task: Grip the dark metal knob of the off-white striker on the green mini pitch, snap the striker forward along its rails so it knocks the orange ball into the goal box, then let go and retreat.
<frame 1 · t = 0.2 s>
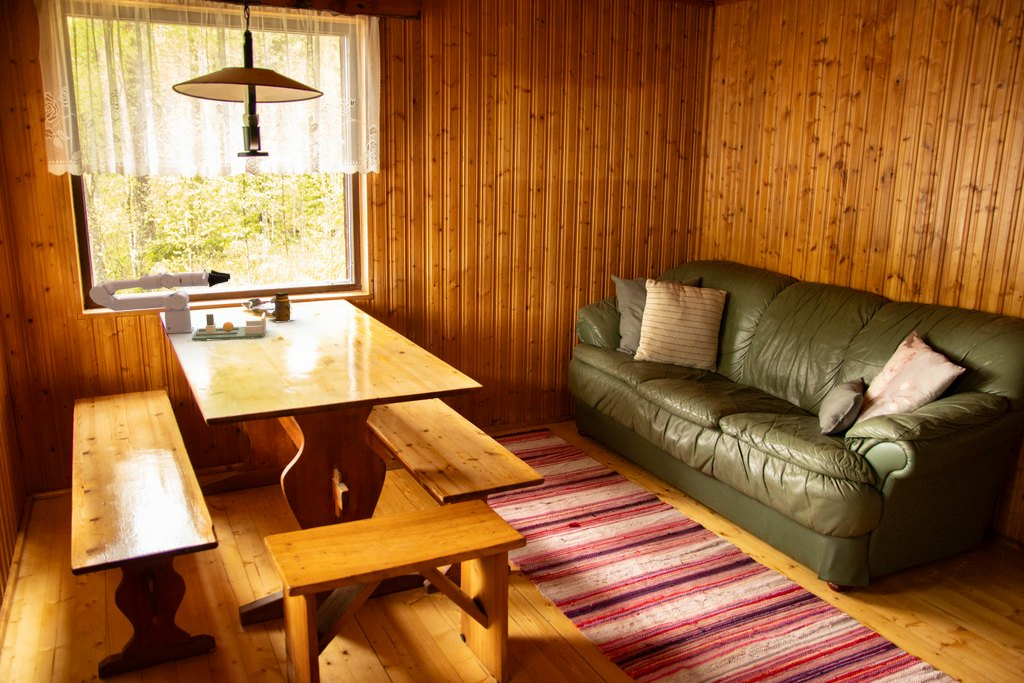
hand: (229, 277, 326), 21 cm above the table, tool horizontal, fingers open, 7 cm apart
pitch: (230, 334, 322), on the table
condiment: (281, 320, 349), on the table
striker: (210, 323, 319), point 5 cm above the table, slide at 0.0 cm
ball: (228, 326, 321), point 3 cm above the table, touching pitch
goal: (255, 333, 324), resting on pitch
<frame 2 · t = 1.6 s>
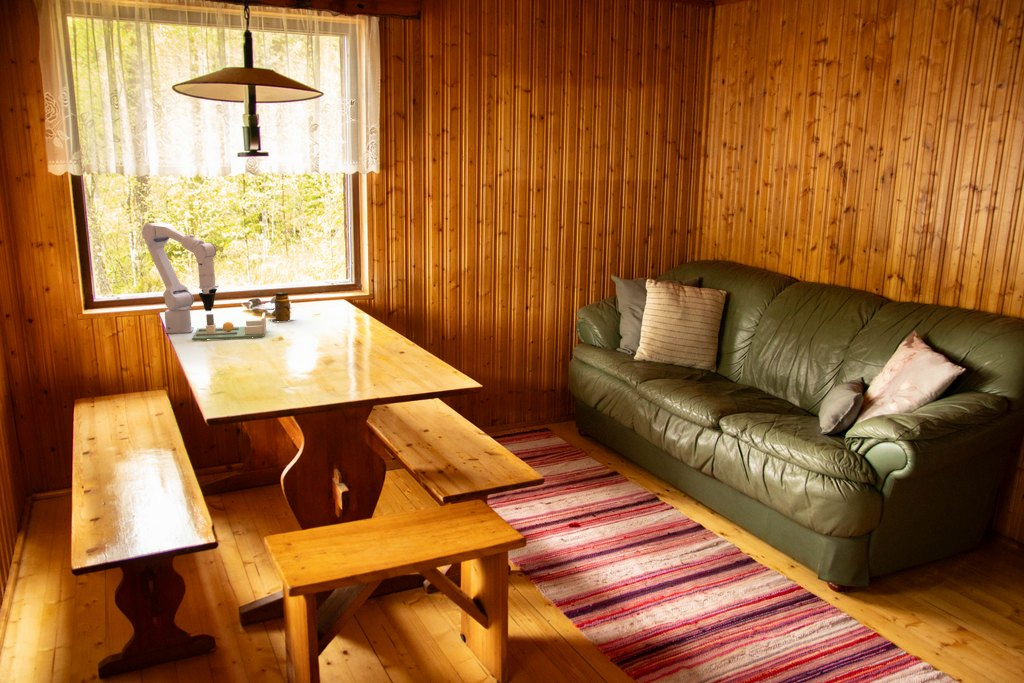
hand: (209, 309, 318), 10 cm above the table, tool pointing down, fingers open, 7 cm apart
nothing on the table moved.
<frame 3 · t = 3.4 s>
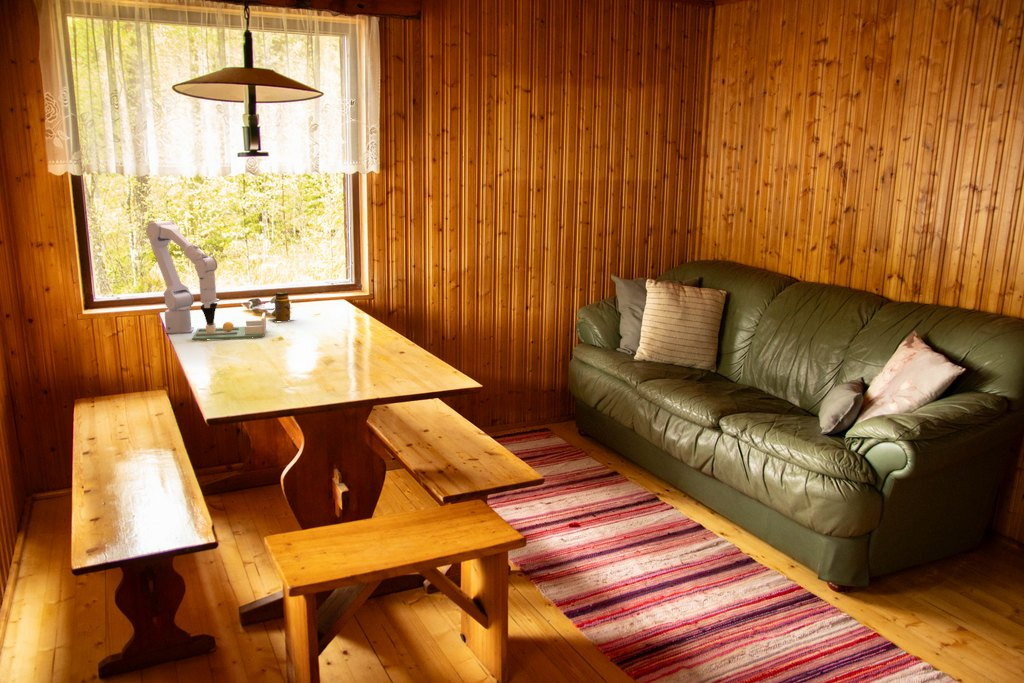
hand: (210, 322, 319), 5 cm above the table, tool pointing down, fingers closed on striker, 3 cm apart
striker: (210, 323, 319), point 5 cm above the table, slide at 0.0 cm, touching gripper
everything else where it was.
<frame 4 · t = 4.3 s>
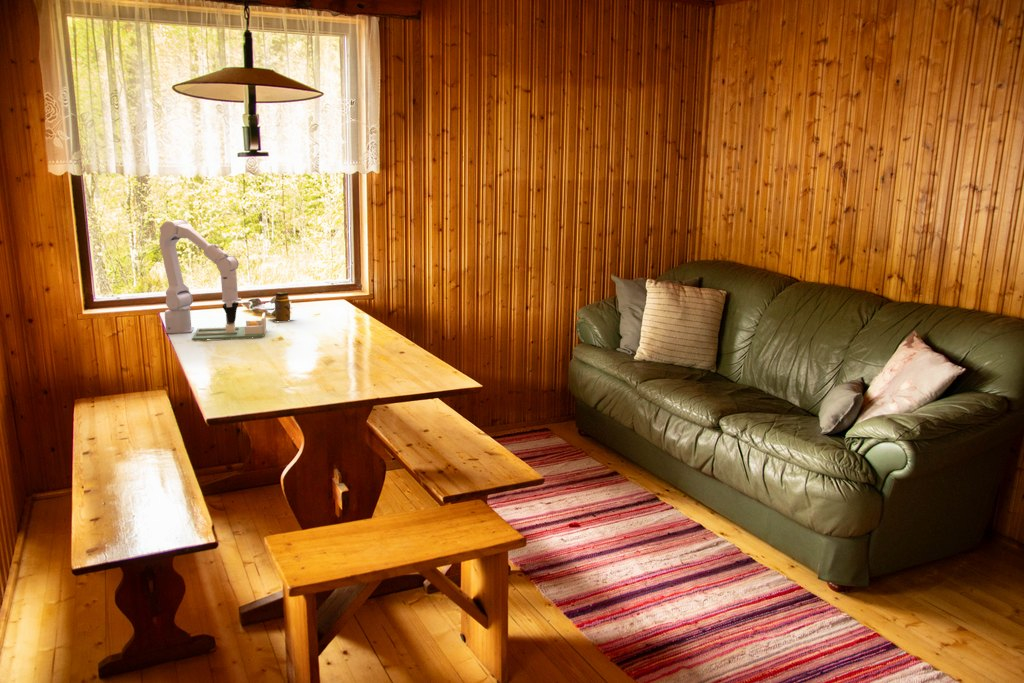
hand: (231, 321, 321), 5 cm above the table, tool pointing down, fingers closed on striker, 3 cm apart
striker: (230, 322, 321), point 5 cm above the table, slide at 7.3 cm, touching gripper
ball: (253, 325, 323), point 3 cm above the table, tilted 98°, touching pitch
everything else where it was.
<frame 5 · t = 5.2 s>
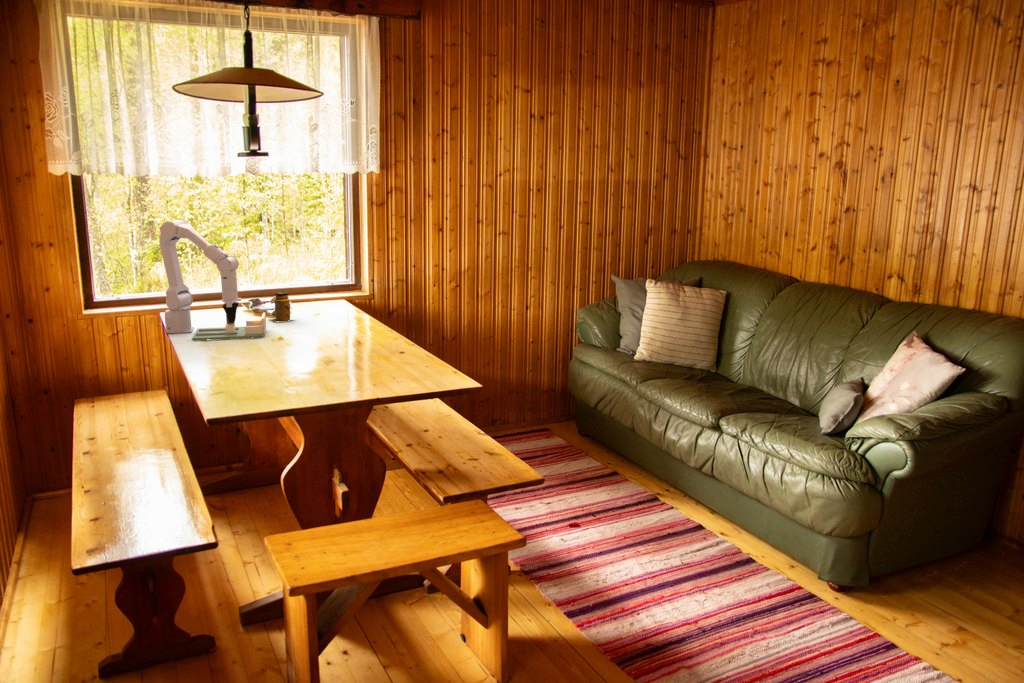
hand: (231, 321, 321), 5 cm above the table, tool pointing down, fingers closed on striker, 2 cm apart
striker: (230, 322, 321), point 5 cm above the table, slide at 7.3 cm, touching gripper
ball: (256, 325, 323), point 3 cm above the table, tilted 62°, touching pitch
everything else where it was.
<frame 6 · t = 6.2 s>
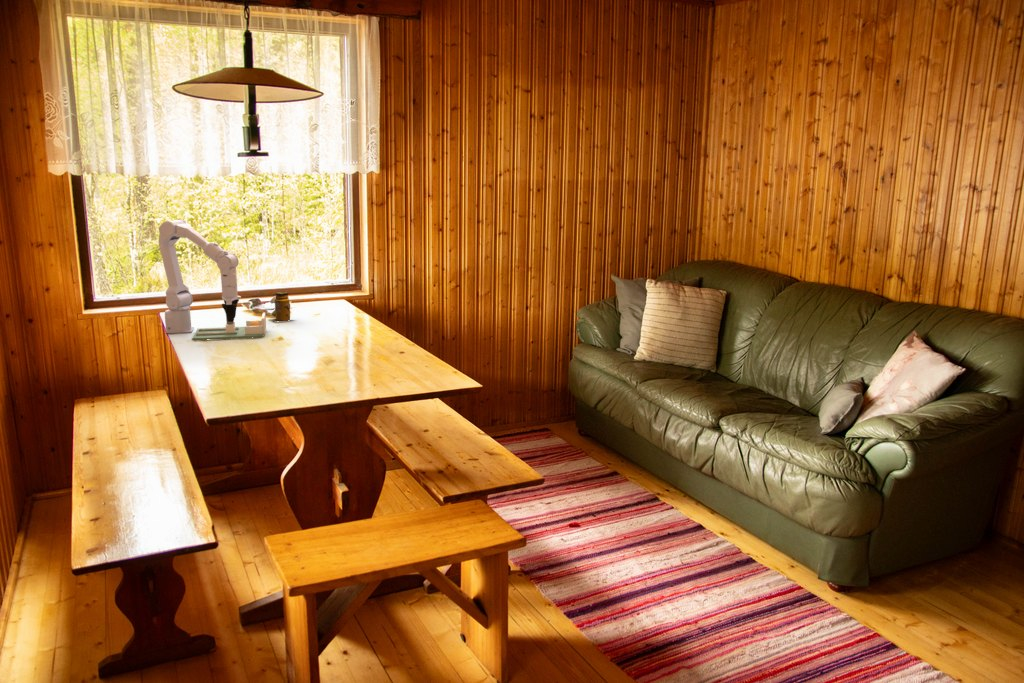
hand: (231, 319, 321), 6 cm above the table, tool pointing down, fingers open, 7 cm apart
striker: (230, 322, 321), point 5 cm above the table, slide at 7.3 cm
ball: (255, 325, 323), point 3 cm above the table, tilted 74°, touching pitch
everything else where it was.
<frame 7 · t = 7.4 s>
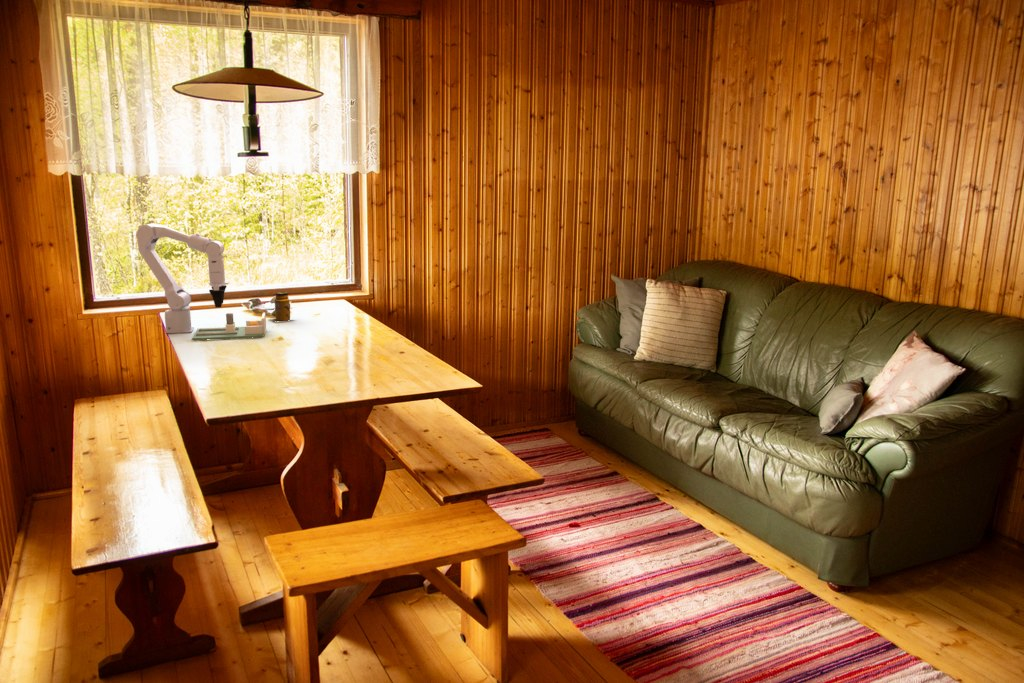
hand: (219, 305, 325), 10 cm above the table, tool pointing down, fingers open, 7 cm apart
ball: (254, 325, 323), point 3 cm above the table, tilted 89°, touching pitch
everything else where it was.
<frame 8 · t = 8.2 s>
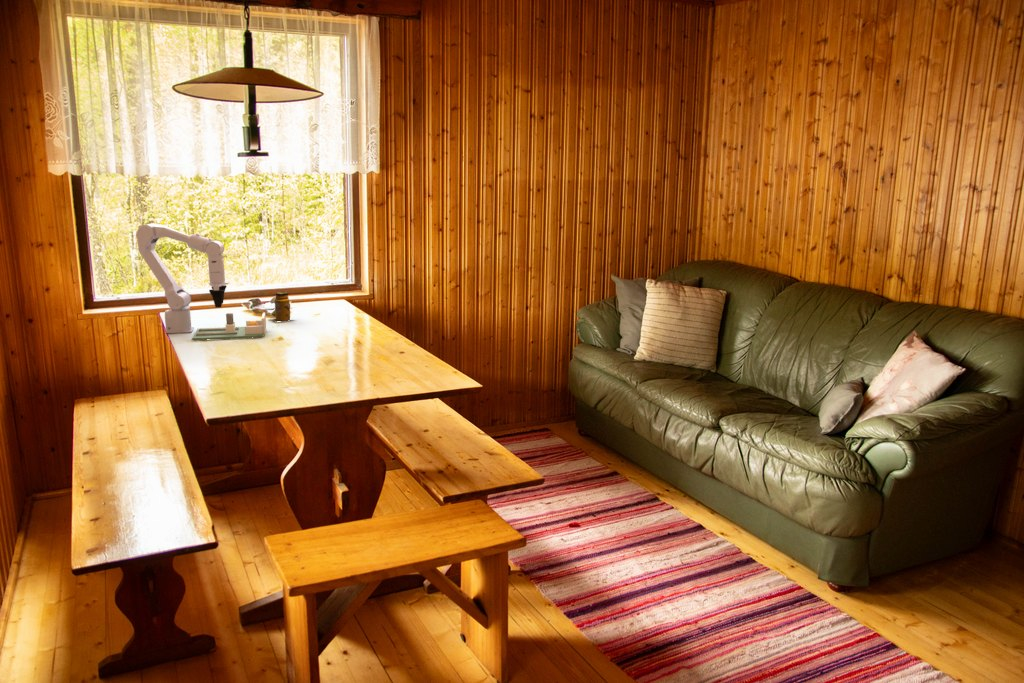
hand: (219, 305, 325), 10 cm above the table, tool pointing down, fingers open, 7 cm apart
ball: (253, 325, 323), point 3 cm above the table, tilted 99°, touching pitch
everything else where it was.
at the end: ball inside the target area (1.2 cm from its centre), point 3.0 cm above the table; striker slide at 7.3 cm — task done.
